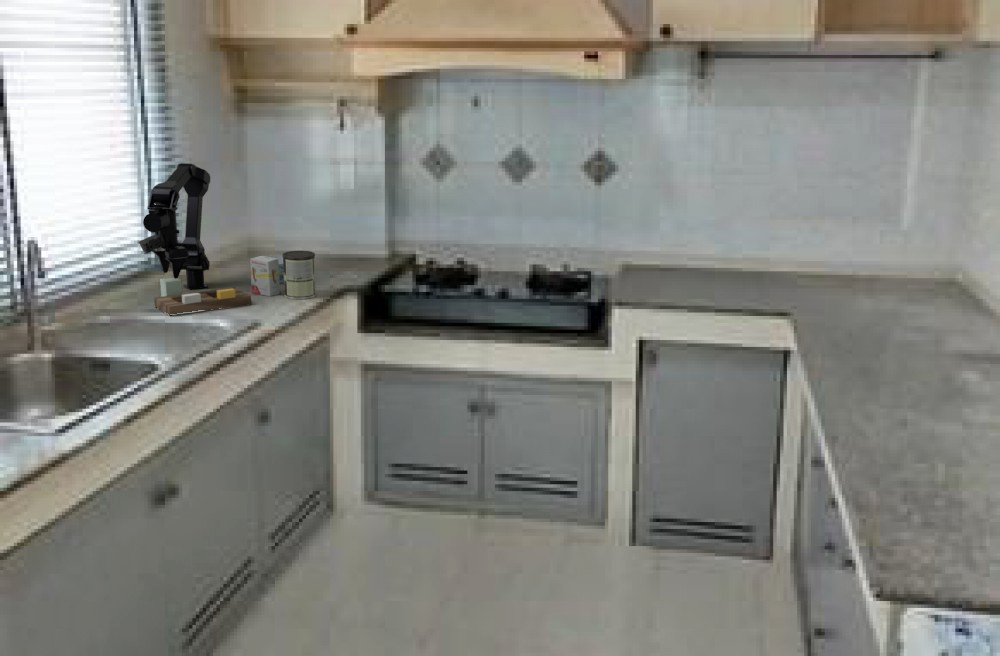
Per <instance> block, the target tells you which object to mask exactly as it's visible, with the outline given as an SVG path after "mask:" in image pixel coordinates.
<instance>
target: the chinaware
mask: <svg viewBox="0 0 1000 656" xmlns="http://www.w3.org/2000/svg"><path fill="white" fill-rule="evenodd" d="M265 256H266V257H271V258H276V259H277V260H278V261H279V284H281V283H284V270H283V255H279V254H278V255H276V254H272V255H265Z"/></svg>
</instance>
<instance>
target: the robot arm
mask: <svg viewBox="0 0 1000 656" xmlns="http://www.w3.org/2000/svg"><path fill="white" fill-rule="evenodd" d="M210 183H211V175H210V172H208V171H207V170H206V169H204V168H202V167H201V168H200V167H198V166H196V164H193V163H189V162H188V163H187V162H186V163H185V162H180V163H178V164H177V167H176V169H175V170H174V171H173V172H172V173H171V175H169V176H168V178H167V179H166V180H165V181H163V182H159V183H158V184H156V185H154V186H153V187H152V189H151V191H150V194H149V198H148V204H147V208H146V209H147V210H148V213H147V214H146V215H145V216H144V218H143V221H142V224H143V227H144V229H146V231H148V232H149V233H154V234H152V235H150V236H147V237H146V238H144V239H142V240H140V241H138V243H139V245H140V248H141V250H142V252H145V254H150V253H153V254H155V256H156V257H157V258H158V261H159V263H160V266H161V269H162V271H163V273H164V274H166V273H168V272H169V268H170V267H171V268H170V269H171V272H172V276H173V277H172V278H175V279H176V278H178V279H179V276H180V273H181V271H185V277H186V284H182V287H184V288H186V289H188V290H190V291H191V290H200V289H207V288H209V285H207V284H205V273H204V272H205V271H209V270H210V266H211V265H210V264H211V263H210V260H209V258H208V257H207V255H206V252H205V251H206V250H205V247H204V245H203V243H202V242H201V232H202V231H201V230H202V214H203V200H204V199H203V198H204V196H205V195H206V194H207V192H208V191H209V187H210V186H209V185H210ZM182 189H184V191H185V193H186V194H187V201H186V202H187V203H186V219H185V220H186V221H185V231H184V232H185V233H184V234H185V236H184V239H183V241H182V242H179V241H178V240H179V239H178V234H180V230H179V229H178V226H177V225H178V224H177V223H178V222H177V210H178V206H177V205H178V202H179V199H180V191H181V190H182Z"/></svg>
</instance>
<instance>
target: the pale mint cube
mask: <svg viewBox="0 0 1000 656" xmlns="http://www.w3.org/2000/svg"><path fill="white" fill-rule="evenodd" d="M159 282H160V285H159V286H160V294H161V295H160V297H163V296H171V295H178V294H183V283H182V279H180V278H179V277H178V278H176V279H175V278H174V277H168V278H160V279H159Z"/></svg>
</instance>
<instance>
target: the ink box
mask: <svg viewBox="0 0 1000 656" xmlns="http://www.w3.org/2000/svg"><path fill="white" fill-rule="evenodd" d="M266 256H267V255H259V256H255V257H252V258H249V259H250V260H249V261H250V278H251V279H250V280H251V281H250V284H251V293H252V294H255V295H261V296H267V297H273V296H276V295H280V294H281V292H280V290H281V289H280V283H279V261H278V260H277V259H276V258H271V257H266Z"/></svg>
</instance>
